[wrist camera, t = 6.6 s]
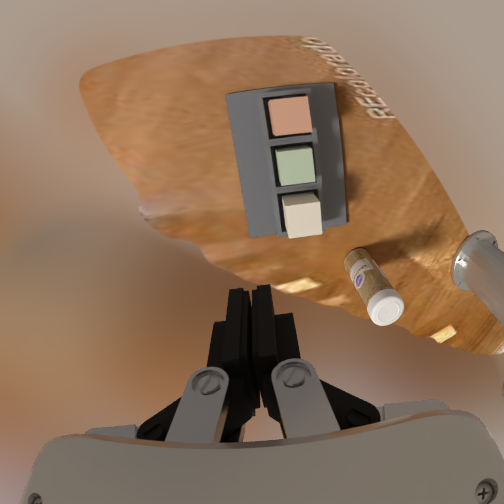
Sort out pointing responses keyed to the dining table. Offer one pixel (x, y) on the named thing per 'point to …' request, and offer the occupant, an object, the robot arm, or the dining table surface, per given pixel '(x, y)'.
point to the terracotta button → (290, 115)
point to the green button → (295, 164)
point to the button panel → (264, 141)
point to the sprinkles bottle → (373, 287)
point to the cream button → (302, 214)
